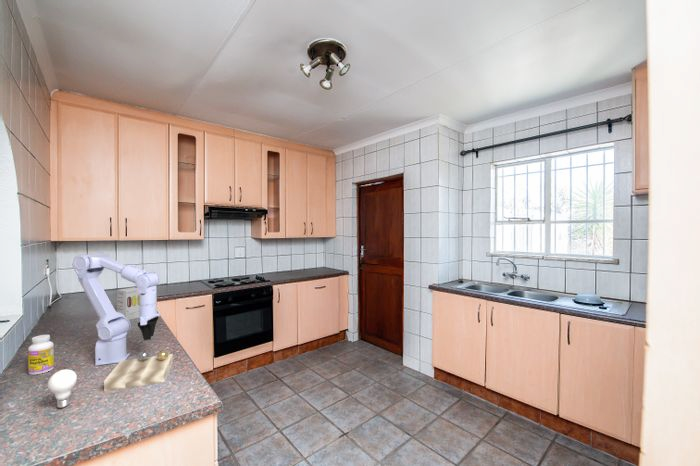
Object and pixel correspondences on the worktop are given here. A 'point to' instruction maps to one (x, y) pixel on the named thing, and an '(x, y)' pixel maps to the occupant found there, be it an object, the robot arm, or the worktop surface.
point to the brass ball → (162, 355)
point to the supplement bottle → (40, 355)
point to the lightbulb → (62, 386)
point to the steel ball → (143, 355)
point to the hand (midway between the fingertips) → (148, 337)
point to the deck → (138, 373)
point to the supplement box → (128, 302)
